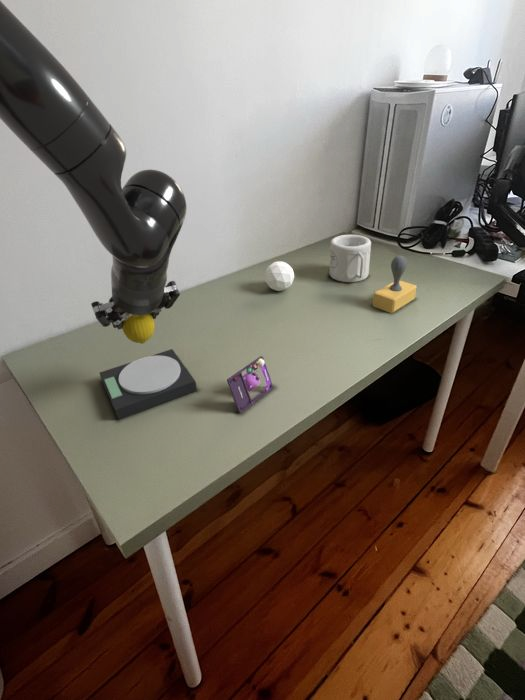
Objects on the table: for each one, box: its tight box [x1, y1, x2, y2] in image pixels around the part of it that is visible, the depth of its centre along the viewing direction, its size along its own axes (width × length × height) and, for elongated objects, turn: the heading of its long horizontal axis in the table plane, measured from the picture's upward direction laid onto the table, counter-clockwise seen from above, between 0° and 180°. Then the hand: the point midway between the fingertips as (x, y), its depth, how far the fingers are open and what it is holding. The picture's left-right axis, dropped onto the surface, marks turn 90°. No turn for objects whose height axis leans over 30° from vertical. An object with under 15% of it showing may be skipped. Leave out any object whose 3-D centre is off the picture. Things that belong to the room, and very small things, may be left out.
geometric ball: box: [264, 260, 295, 292], centre depth 114 cm, size 8×8×8 cm
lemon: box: [121, 313, 155, 345], centre depth 77 cm, size 6×6×8 cm
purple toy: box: [226, 355, 274, 414], centre depth 79 cm, size 7×5×9 cm
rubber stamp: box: [372, 255, 418, 314], centre depth 103 cm, size 10×6×12 cm, turn 133°
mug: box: [329, 234, 372, 283], centre depth 118 cm, size 14×11×10 cm
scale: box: [99, 348, 198, 421], centre depth 83 cm, size 15×13×3 cm
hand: (135, 319), depth 78 cm, fingers closed on lemon, 5 cm apart
